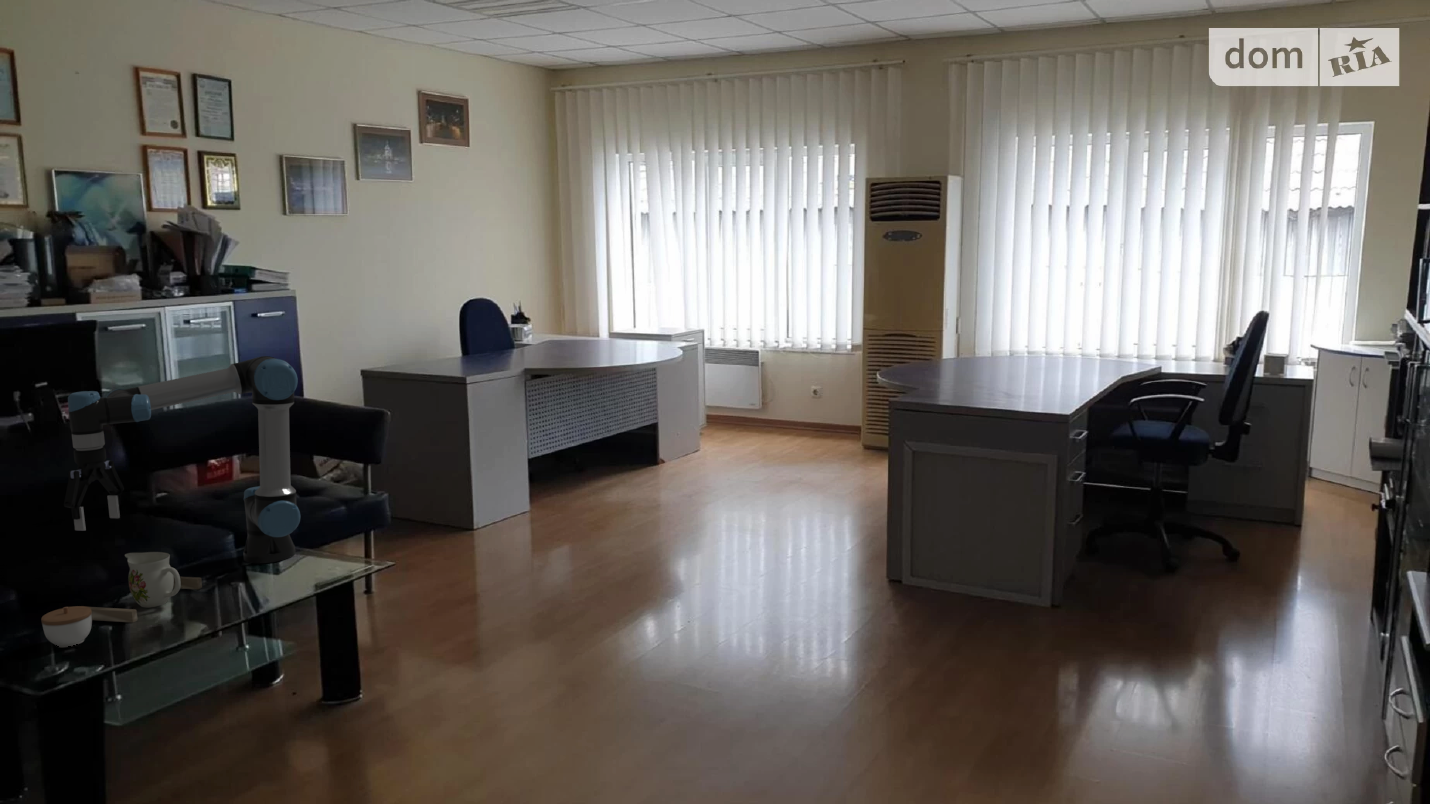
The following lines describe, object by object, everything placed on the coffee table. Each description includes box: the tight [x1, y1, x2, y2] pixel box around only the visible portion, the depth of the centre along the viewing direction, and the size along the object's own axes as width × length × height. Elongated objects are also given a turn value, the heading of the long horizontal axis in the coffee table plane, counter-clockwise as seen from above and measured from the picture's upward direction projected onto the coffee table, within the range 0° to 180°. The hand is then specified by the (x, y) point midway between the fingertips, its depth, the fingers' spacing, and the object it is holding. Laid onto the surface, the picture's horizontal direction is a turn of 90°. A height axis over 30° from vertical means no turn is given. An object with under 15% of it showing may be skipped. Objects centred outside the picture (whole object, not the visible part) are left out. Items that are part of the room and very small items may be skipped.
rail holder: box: [88, 576, 203, 623], centre depth 283 cm, size 27×15×3 cm, turn 169°
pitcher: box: [124, 551, 181, 608], centre depth 282 cm, size 11×18×14 cm, turn 72°
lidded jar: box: [40, 605, 93, 648], centre depth 256 cm, size 11×11×9 cm
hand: (98, 523), depth 282 cm, fingers open, 12 cm apart
